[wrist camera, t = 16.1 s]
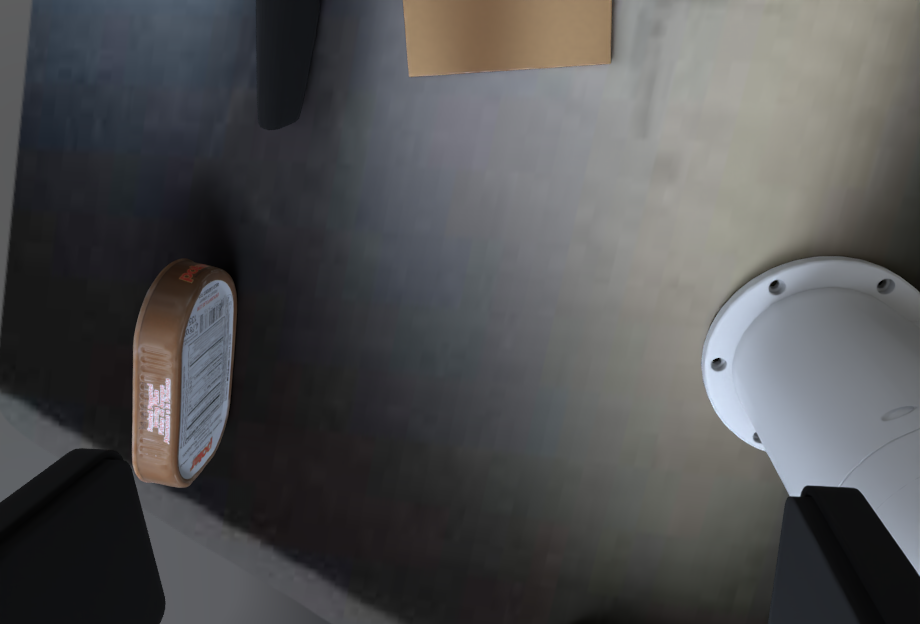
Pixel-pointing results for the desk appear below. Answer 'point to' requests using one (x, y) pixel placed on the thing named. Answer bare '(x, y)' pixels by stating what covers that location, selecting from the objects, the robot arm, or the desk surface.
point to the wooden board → (505, 35)
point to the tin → (182, 371)
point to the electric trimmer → (283, 58)
